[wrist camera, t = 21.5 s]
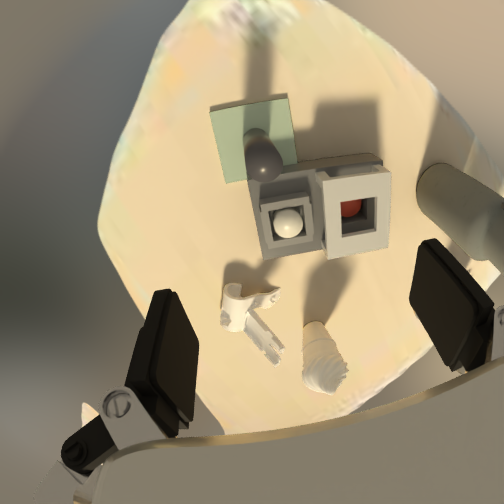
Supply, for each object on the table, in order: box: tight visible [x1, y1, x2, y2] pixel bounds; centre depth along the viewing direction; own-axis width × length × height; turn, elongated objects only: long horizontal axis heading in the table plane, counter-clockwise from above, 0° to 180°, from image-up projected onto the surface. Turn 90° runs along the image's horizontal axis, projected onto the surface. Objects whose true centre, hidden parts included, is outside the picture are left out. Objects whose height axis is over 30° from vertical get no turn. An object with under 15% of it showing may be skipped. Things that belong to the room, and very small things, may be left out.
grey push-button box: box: [246, 153, 391, 260], centre depth 38 cm, size 18×12×7 cm, turn 100°
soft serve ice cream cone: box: [302, 321, 349, 395], centre depth 49 cm, size 8×8×16 cm
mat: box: [209, 98, 298, 184], centre depth 36 cm, size 10×10×1 cm
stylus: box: [243, 128, 283, 182], centre depth 30 cm, size 3×3×12 cm
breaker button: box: [340, 199, 361, 217], centre depth 39 cm, size 4×4×3 cm
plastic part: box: [220, 283, 285, 368], centre depth 46 cm, size 8×10×12 cm
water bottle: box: [417, 163, 504, 275], centre depth 28 cm, size 10×10×28 cm
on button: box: [273, 207, 303, 238], centre depth 37 cm, size 4×4×2 cm
